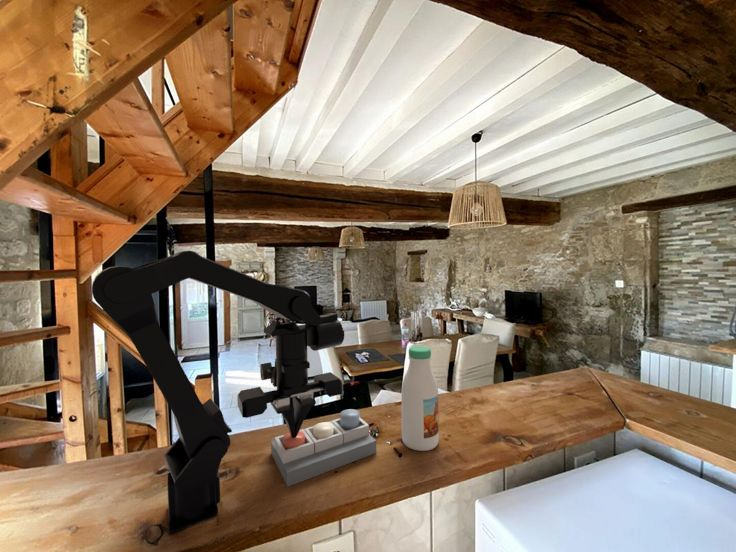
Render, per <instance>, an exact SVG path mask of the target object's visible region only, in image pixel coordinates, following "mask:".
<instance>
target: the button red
mask: <svg viewBox="0 0 736 552" xmlns="http://www.w3.org/2000/svg"><path fill="white" fill-rule="evenodd" d="M283 435H284V436H283V447H284V449H285V450H288V449H291V448H294V447H297V446H300V445H304V444H305V434H304V433H303V432H302V431H299V432H298V435H297V437H294V438H292V437H291V435H290V432H289V431H288V432H286V433H285V434H283Z"/></svg>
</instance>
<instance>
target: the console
mask: <svg viewBox="0 0 736 552" xmlns="http://www.w3.org/2000/svg"><path fill="white" fill-rule="evenodd" d="M327 422H328V423H331V424H332V425H333V434H334V435H332V436H328V437H325V438H322V439H319V440H316V438H315V437H314V436H313V427H314V426H315V425H313V426H309V427H307V428H302V429H300V430H299V431H302V432H303V433H304V434H305V444H304V445H300V446H297V447H294V448H291V449H288V450H285V449H284V447H283V436H284V435H285V434H282V435H279V436H275V437H274V439H273V440H271V441H270V450H271V451H270V452H271V453H270V454H271V456H272V458H273V460H274V462H275V464H276V466H277V468H278V470H279V472H280V474H281V477H282V478H283V481H284V483H285V485H286V487H290V486H293V485H295V484H298V483H301V482H303V481H306V480H308V479H311V478H314V477H317V476H320V475H322V474H324V473H327V472H330V471H332V470H335V469H338V468H340V467H343V466H345V465H348V464H350V463H353V462H355V461H359V460H361V459H364V458H367V457H369V456H372V455H374V454H377V439H375V437H373V436H372V435H371V434H370V425H369V424H368V423H367V422H366V421H365V420H364V419H362V418H361V417H360V426H359V427H357V428H353V429H350V430H344V429H343V428H342V427H341V426H340V417H339V418H336V419H332V420H329V421H327Z"/></svg>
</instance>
